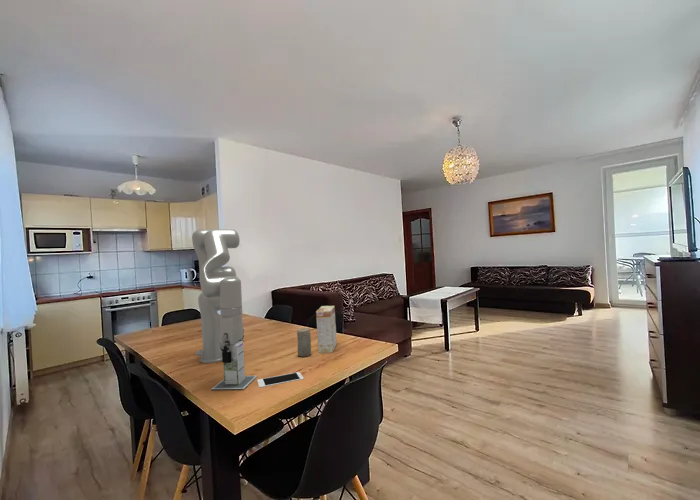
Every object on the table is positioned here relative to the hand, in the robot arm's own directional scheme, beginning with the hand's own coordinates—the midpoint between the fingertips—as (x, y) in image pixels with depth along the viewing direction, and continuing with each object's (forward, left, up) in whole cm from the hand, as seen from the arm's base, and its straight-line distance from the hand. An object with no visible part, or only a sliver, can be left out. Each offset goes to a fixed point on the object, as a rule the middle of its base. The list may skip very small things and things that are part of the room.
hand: (233, 357), depth 120 cm
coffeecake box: (+27, +41, -9) cm, 51 cm away
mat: (0, -1, -9) cm, 9 cm away
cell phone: (+17, +3, -10) cm, 19 cm away
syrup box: (0, -1, -9) cm, 9 cm away
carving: (+18, +31, -9) cm, 38 cm away
